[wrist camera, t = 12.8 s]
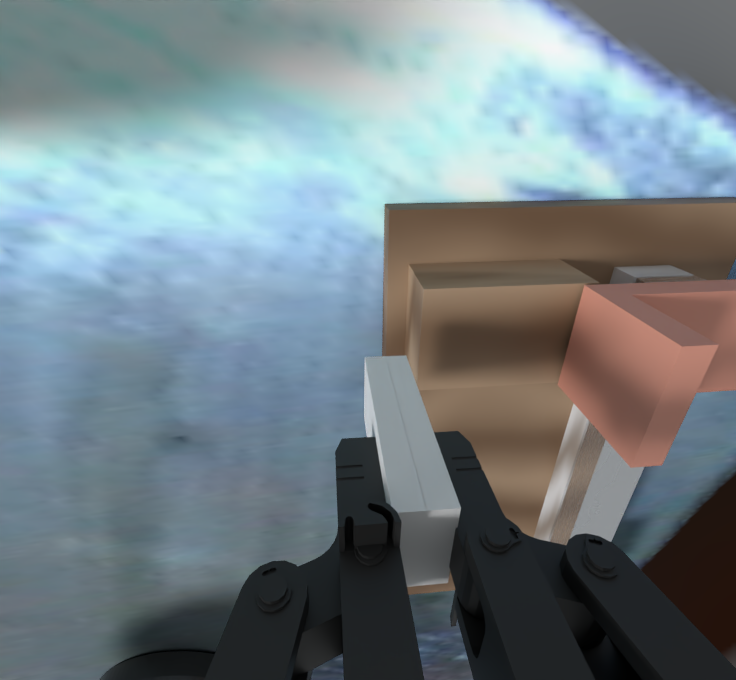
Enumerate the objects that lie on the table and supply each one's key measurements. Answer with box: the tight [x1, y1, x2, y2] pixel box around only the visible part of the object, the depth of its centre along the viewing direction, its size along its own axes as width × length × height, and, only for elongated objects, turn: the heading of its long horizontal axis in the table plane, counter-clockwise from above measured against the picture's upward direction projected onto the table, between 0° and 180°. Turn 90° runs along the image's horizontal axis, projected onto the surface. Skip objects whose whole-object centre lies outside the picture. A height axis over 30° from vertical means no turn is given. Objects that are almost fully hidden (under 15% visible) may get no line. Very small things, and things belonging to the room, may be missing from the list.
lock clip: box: [558, 279, 736, 468], centre depth 16 cm, size 5×8×5 cm, turn 90°
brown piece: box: [382, 197, 736, 595], centre depth 25 cm, size 30×18×6 cm, turn 0°
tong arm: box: [550, 276, 705, 545], centre depth 24 cm, size 24×3×2 cm, turn 0°
